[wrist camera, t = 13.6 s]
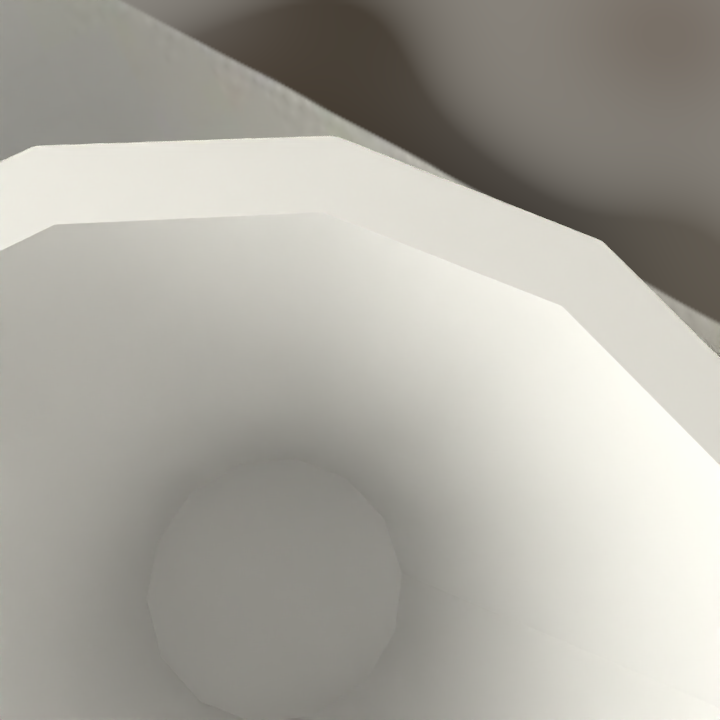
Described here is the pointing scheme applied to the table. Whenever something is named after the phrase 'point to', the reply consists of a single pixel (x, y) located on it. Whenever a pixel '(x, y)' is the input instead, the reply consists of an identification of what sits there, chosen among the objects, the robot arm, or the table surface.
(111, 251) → the foam cup
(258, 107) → the table surface
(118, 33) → the table surface
